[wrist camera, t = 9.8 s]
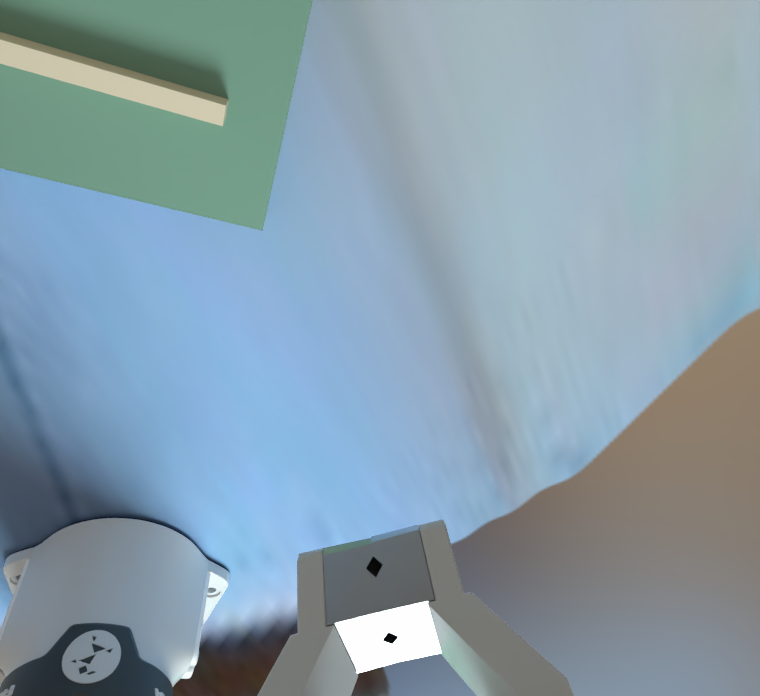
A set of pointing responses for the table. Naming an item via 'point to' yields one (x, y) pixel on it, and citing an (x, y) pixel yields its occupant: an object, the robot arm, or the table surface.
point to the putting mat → (152, 98)
